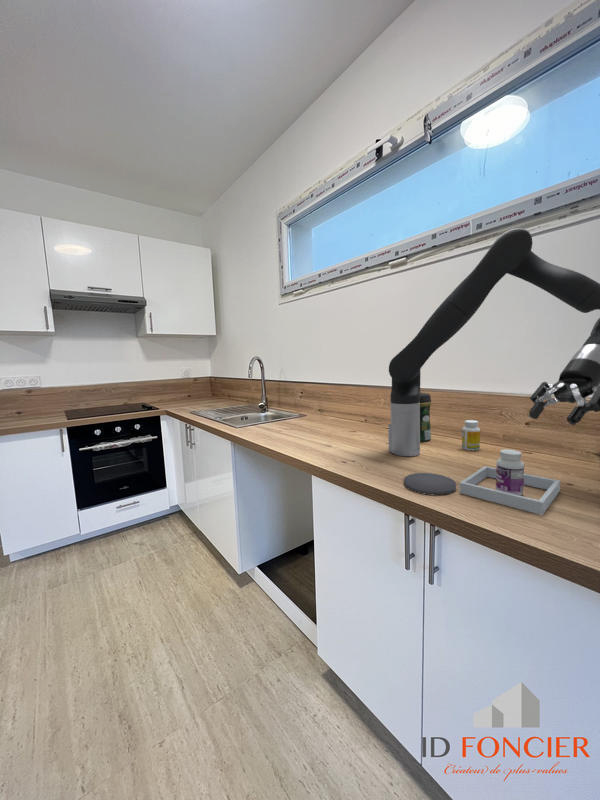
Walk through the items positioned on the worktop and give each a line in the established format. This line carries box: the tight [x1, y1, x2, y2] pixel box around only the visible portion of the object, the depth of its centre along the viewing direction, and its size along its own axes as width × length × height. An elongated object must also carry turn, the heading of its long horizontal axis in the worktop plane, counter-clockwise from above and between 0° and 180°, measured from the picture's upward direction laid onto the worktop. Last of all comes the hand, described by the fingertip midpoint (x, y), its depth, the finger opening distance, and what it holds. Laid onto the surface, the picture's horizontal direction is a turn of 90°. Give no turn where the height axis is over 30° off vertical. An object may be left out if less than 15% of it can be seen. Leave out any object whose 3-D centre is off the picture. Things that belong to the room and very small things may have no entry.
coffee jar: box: [420, 392, 432, 443], centre depth 122 cm, size 10×8×19 cm
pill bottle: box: [495, 448, 525, 496], centre depth 72 cm, size 5×5×10 cm
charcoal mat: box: [403, 472, 457, 496], centre depth 79 cm, size 12×12×1 cm
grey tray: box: [459, 465, 561, 516], centre depth 73 cm, size 16×16×2 cm
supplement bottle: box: [461, 419, 481, 452], centre depth 107 cm, size 5×5×10 cm
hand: (550, 419), depth 74 cm, fingers open, 8 cm apart
